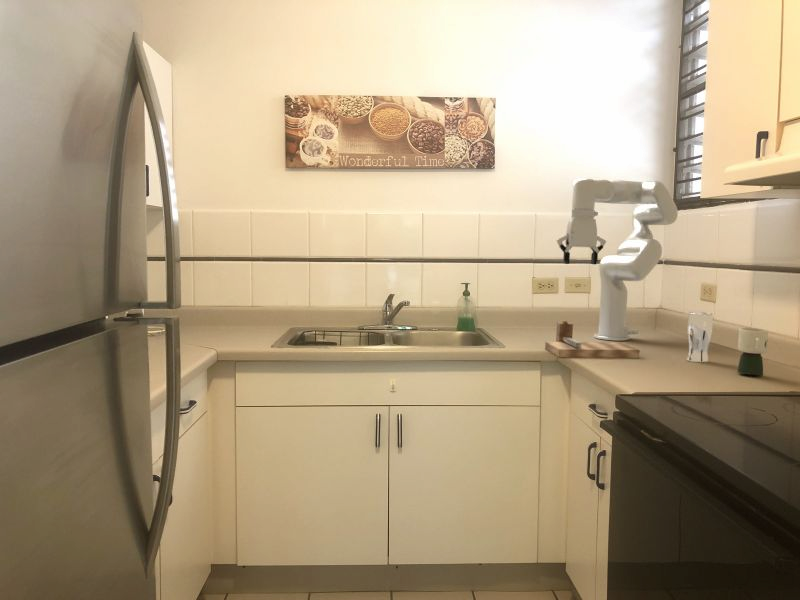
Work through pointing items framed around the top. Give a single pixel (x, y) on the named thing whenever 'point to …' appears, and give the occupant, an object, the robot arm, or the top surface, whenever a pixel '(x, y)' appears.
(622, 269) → the robot arm
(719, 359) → the top surface
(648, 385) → the top surface
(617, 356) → the oak board
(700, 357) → the beer glass
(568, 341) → the marking gauge
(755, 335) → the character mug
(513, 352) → the top surface
